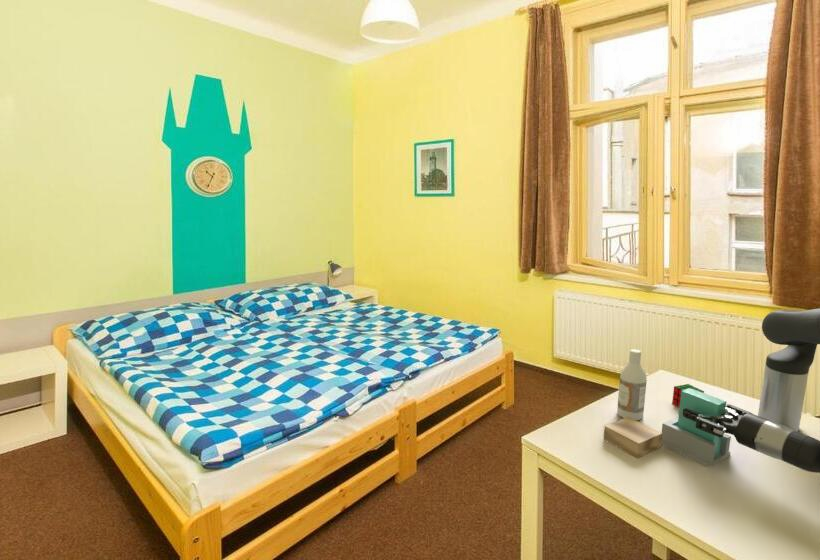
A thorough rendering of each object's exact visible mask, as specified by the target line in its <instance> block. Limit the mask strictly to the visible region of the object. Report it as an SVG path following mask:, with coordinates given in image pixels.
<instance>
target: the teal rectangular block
mask: <svg viewBox="0 0 820 560" xmlns="http://www.w3.org/2000/svg"><path fill="white" fill-rule="evenodd" d="M727 403H728V402H727V400H724V399H721V398H719V397H716V396H713V395H710V394H707V393H705V392H704V393H702V392H699V391H697V390H694V389H691V388H688V389H685V390H683V391H681V399H680V407H679V409H678V416H677V417H678V426H677V427H679V428H681V429H683V430H686V431H688V432H690V433H692V434H695V435H697V436H699V437H701V438H703V439H706V440H708V441H710V442H712V443H715V444H716V446H715V453H714V456H716V455H718V454H720V447H721V439H722V438H720V437H717V436H715V435H712V434H710V433H707V432H705V431H703V430H700V429H698V428H696V427H695V426H696V422H695V421H692V420H690V419H688V418H685V417H683V409H685V408H687V409H690V410H692V411H695V412H697V413H700V414H703V415H710V414H715V415H721V414H724V413H725V409H726V406H727ZM706 420H708V421H709V419H706ZM713 422H714V423H715V419H714V421H713ZM703 427H706V426H703Z"/></svg>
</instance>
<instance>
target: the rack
mask: <svg viewBox="0 0 820 560" xmlns="http://www.w3.org/2000/svg"><path fill="white" fill-rule="evenodd" d="M678 417H679V416H677V417H675V418H671V419H670V420H667V421H665V422H662V424H661V425H662V426H661V433H662V441H661V446H664V447H665V448H667V449H669V450H670V451H673V452H675V453H677V454H680V455H681V456H684V457H685V458H687V459H690V460H691V461H693V462H695V463H697V464H699V465H701V466H703V467H705V468H707V469H708V468H709V467H711V466H713V465H715V464H717V463H718V462H721V461H722V460H725V459H726V458H728V457H730V456H731V451H730V445H731V438H732V437H731V435H730V434H729V435H728V434H727V433H724V434H723V437H722V439H721V447H720V454H718V455H716V456H714V453H715V446H716V444H715V443H712V442H710V441H708V440H706V439H703V438H701V437H699V436H697V435H695V434H692V433H690V432H688V431H686V430H683V429H681V428H679V427H677V426H678Z"/></svg>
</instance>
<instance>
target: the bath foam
mask: <svg viewBox="0 0 820 560" xmlns="http://www.w3.org/2000/svg"><path fill="white" fill-rule="evenodd" d="M628 357H629V359H628V360H629V361H628V362H627V363H626V364H625V365H624V367H623V368H622V370H621V371H620V376H619V383H618V384H619V386H618V387H619V388H618V397H617V407H616V408H617V412H616V413H617V415H618V416H619V417H620V418H622V419H624V418H626V417H629V418H631V419H633V420H635V421H639V420H642V419H643V418H644V411H645V403H646V401H645V400H646V390H647V381H648V380H647V379H648V378H647V374H646V371H645V369H644V367H643V366H642V363H641V360H642V359H641V358H642V351H641V350H639V349H633V348H632V349H629V356H628Z"/></svg>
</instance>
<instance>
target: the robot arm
mask: <svg viewBox="0 0 820 560" xmlns="http://www.w3.org/2000/svg"><path fill="white" fill-rule="evenodd" d="M761 331H762V333H763V336H764V337H765V338H766V339H767V340H768V341H769V342H771V343H773V344H776V345H781V346H786V347H785V348H782V349H781V350H777V351H774V352H771V353H769V354H767V356H766V360H765V365H764V372H763V379H762V385H761V393H760V399H759V400H760V401H759V406H758V410H757V411H758V413H757V415H756V414H754V413H752V412H750V411H748V410H746V409H743V408H740V407H738V406H736V405H733V404H731V403H726V409H725V413H724V414H721V415H715V414H710V415H703V414H700V413H697V412H695V411H692V410H690V409H687V408H685V409H683V417H685V418H688V419H690V420H692V421H695V422H696V426H695V427H696V428H698V429H700V430H703V431H705V432H707V433H710V434H712V435H715V436H717V437H720V438H722V437H723V434H727V435H728V434H729V435H733V436H734V438H735V440H736V442H737V443H738V445H742V446H744V447H747V448H748V449H751V450H754V451H756V452H758V453H760V454H763V455H765V456H767V457H770V458H773V459H776V460H779V461H782V462H785V463H786V464H789V465H792V466H794V467H797V468H798V469H800V470H804V471H806V472H810V473H817V474H818V473H819V474H820V440H819V439H816V438H814V437H811V436H809V435H806V434H803V432H802V433H801V432H800V425H801V419H802V414H803V408H804V402H805V395H806V390H807V383H808V377H809V372H810V368H811V366H812V365H813V363H814V361H815V356H816V352H817V347H818V345H820V308H813V309H808V310H789V309H788V310H786V309H783V310H782V309H778V310H773V311H770V312H769V313H767V315H766V316H765V317H764V318H763V320H762V323H761ZM706 419H709V421H708V420H706ZM714 419H715V423H714V422H713V421H714ZM703 426H706V427H703ZM798 431H799V432H798Z"/></svg>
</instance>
